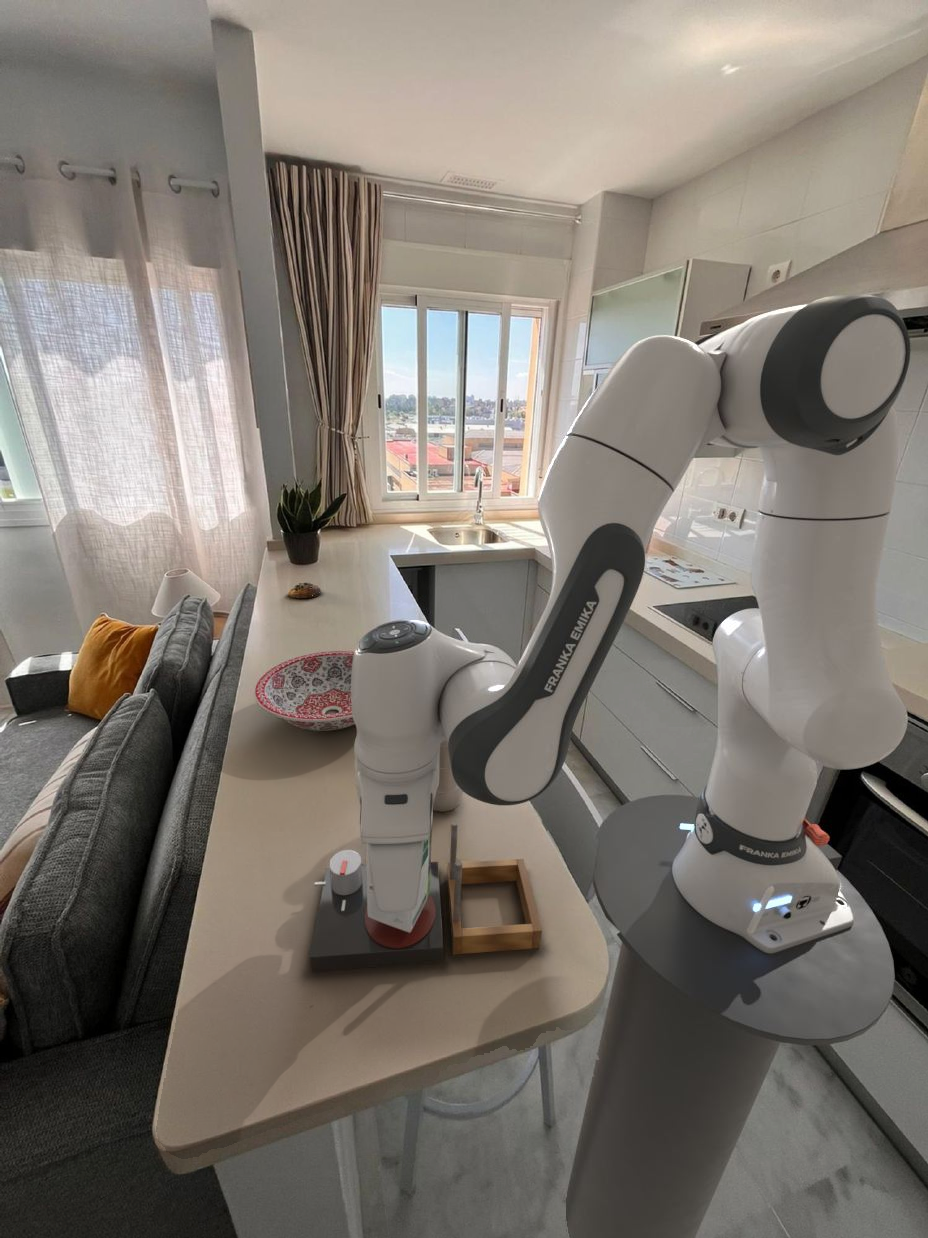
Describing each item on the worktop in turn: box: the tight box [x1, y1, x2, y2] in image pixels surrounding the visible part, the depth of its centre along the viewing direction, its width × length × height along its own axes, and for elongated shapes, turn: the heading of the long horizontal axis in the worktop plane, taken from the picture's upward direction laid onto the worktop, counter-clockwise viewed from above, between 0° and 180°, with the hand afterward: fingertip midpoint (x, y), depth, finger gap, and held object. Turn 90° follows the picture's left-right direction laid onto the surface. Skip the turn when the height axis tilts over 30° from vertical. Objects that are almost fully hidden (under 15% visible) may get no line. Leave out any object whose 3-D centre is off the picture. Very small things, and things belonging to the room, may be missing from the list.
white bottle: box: [433, 741, 464, 812], centre depth 78 cm, size 6×7×20 cm
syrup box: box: [365, 805, 434, 933], centre depth 57 cm, size 6×6×14 cm
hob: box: [308, 861, 444, 973], centre depth 63 cm, size 16×14×3 cm
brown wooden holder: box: [446, 820, 543, 955], centre depth 62 cm, size 10×10×12 cm
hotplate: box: [364, 894, 435, 949], centre depth 60 cm, size 9×9×1 cm
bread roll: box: [287, 581, 322, 599], centre depth 176 cm, size 11×11×5 cm
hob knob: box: [328, 849, 363, 895], centre depth 64 cm, size 4×4×4 cm
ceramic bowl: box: [253, 650, 356, 732], centre depth 104 cm, size 29×29×8 cm
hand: (399, 866), depth 58 cm, fingers closed on syrup box, 7 cm apart
